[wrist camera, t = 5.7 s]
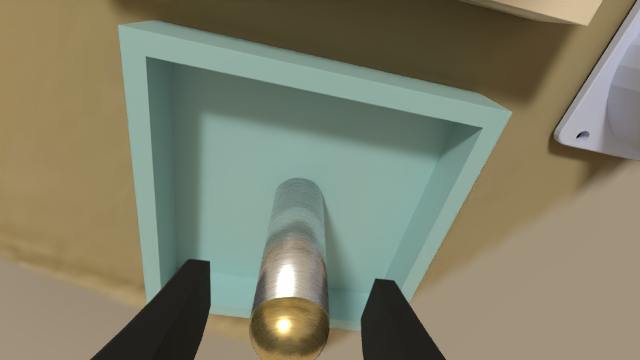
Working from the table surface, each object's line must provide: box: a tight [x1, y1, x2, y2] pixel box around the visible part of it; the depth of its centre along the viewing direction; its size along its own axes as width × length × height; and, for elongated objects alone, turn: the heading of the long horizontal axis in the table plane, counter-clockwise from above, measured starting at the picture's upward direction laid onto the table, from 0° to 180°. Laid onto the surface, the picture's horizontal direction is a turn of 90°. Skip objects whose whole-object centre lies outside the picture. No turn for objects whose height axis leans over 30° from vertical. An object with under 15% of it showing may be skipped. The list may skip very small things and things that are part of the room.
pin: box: [249, 178, 330, 360], centre depth 11 cm, size 2×2×8 cm
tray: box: [118, 20, 512, 331], centre depth 14 cm, size 12×12×2 cm
